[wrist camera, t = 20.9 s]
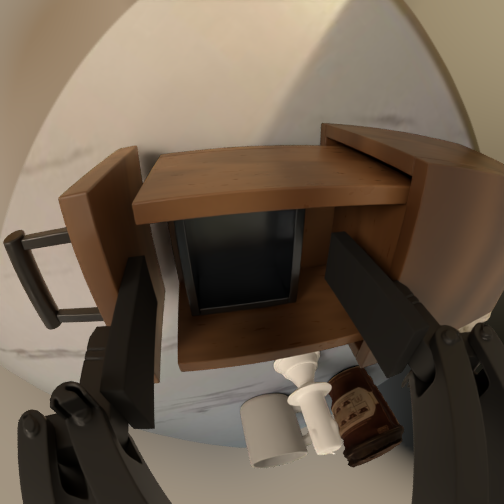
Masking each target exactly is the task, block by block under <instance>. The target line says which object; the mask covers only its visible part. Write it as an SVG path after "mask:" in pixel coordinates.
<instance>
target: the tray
mask: <svg viewBox="0 0 504 504" xmlns="http://www.w3.org/2000/svg"><path fill="white" fill-rule="evenodd" d="M305 210H306V208H305V209H290V210H277V211H264V212H253V213H242V214H231V215H221V216H211V217H201V218H192V219H183V220H175V221H173V223H174V229H175V235H176V241H177V246H178V252H179V257H180V263H181V268H182V273H183V278H184V283H185V287H186V292H187V297H188V301H189V306H190V310H191V315H192V316H199V315H200V314H201V315H209V314H217V313H225V312H233V311H241V310H249V309H256V308H263V307H270V306H276V305H283V304H288V303H295V302H296V301H297V293H298V284H299V275H300V266H301V256H302V246H303V235H304V223H305Z"/></svg>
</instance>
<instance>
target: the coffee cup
mask: <svg viewBox="0 0 504 504" xmlns="http://www.w3.org/2000/svg"><path fill="white" fill-rule="evenodd" d="M328 383H329V384H330V385H331V386H332V388H331V391H330V392H329V393H328V394H329V395H330V396H331V398H332V406H331V410H332V412H333V415H334V418H335V421H336V422H337V424H338V429H339V434H340V437H341V438H342V439H343V440H344V446H345V450H344V452H343V454H344V457H345V458H347V459H348V461H349V463H348V465H349V466H351V467H355V466H358V465H361V464H364V463H366V462H369V461H371V460H373V459H375V458H377V457H379V456H381V455H383V454H385V453H387V452H388V451H390V450H391V449H393V448H394V447H396V446H397V445H399V444H400V442H402V434H403V432H404V428H403V426H401V425H400V424H399V423H398V421H397V419H396V418H395V416H394V414H393V412H392V411H391V409H390V408H389V406H388V404H387V402H386V401H385V400H384V398H383V396H382V394H381V393H380V392H379V390H378V388H377V386H376V385H374V383H373V380H372V378H371V377H370V376H369V375H368V373H367V371H366V370H365V369H364V368H360V366H356V367H353V368H350V369H347V370H345V371H343V372H341V373H339V374H338V375H336V376H335V377H333V378H332V379H331V380H330V381H329V382H328Z"/></svg>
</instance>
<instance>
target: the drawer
mask: <svg viewBox="0 0 504 504" xmlns="http://www.w3.org/2000/svg"><path fill="white" fill-rule="evenodd" d="M411 181H412V179H410V178H408V177H406V176H405V175H403V174H401V173H399V172H397V171H395V170H393V169H391V168H389V167H387V166H385V165H384V164H382V163H379V162H377V161H375V160H373V159H371V158H369V157H367V156H365V155H363V154H361V153H359V152H356V151H354V150H352V149H350V148H347V147H344V146H317V145H275V146H247V147H230V148H217V149H205V150H195V151H186V152H177V153H169V154H162V155H160V157H159V158H158V160H157V162H156V163H155V165H154V166H153V168H152V170H151V171H150V173H149V175H148V176H147V178H146V180H145V181H144V183H143V182H142V176H141V169H140V162H139V155H138V147H137V146H131V147H126V148H120V149H118V150H117V151H115V152H114V153H112V154H111V155H110V156H108V157H107V158H106V159H104V160H103V161H102V162H100V163H99V164H98V165H97V166H95V167H94V168H93V169H92V170H90V171H89V172H88V173H87V174H85V175H84V176H83V177H82V178H80V179H79V180H78V181H77V182H76V183H75V184H73V185H72V186H71V187H70V188H69V189H68V190H67V191H65V192H64V193H63V194H62V195H61V196H60V197H59V198H58V200H59V204H60V208H61V211H62V215H63V218H64V221H65V225H66V227H65V228H60V229H54V230H49V231H44V232H39V233H34V234H29V235H26V236H25V233H24V231H23V230H18V231H15V232H13V233H11V234H10V235H8V236H7V237H6V238H5V240H4V246H5V249H6V251H7V253H8V256H9V258H10V260H11V263H12V265H13V267H14V269H15V271H16V273H17V276H18V278H19V280H20V282H21V284H22V286H23V288H24V290H25V292H26V293H27V295H28V297H29V299H30V301H31V303H32V304H33V306H34V308H35V310H36V311H37V313H38V315H39V316H40V318H41V320H42V321H43V323H44V325H45V326H46V328H48V329H55V328H57V327H59V326H60V325H61V323H62V322H91V321H104V322H105V324H106V326H111V322H112V318H113V313H114V309H115V305H116V301H117V297H118V293H119V289H120V285H121V281H122V278H123V274H124V271H125V267H126V264H127V260H128V257H135V256H142V255H145V259H146V263H147V267H148V270H149V274H150V278H151V281H152V285H153V288H154V291H155V295H156V298H157V301H158V305H157V318H156V334H155V357H154V383H159V382H160V359H161V340H162V324H163V312H164V300H165V287H164V283H163V279H162V275H161V271H160V267H159V263H158V259H157V254H156V250H155V246H154V241H153V236H152V232H151V227H150V223H158V222H166V221H168V227H169V232H170V238H171V243H172V249H173V254H174V259H175V264H176V269H177V274H178V279H179V303H178V365H179V368H180V370H181V372H186V371H197V370H207V369H217V368H225V367H233V366H240V365H247V364H254V363H260V362H266V361H272V360H277V359H283V358H288V357H293V356H298V355H303V354H308V353H312V352H317V351H321V350H326V349H330V348H334V347H338V346H342V345H346V344H350V343H353V342H357V341H361V340H364V339H363V338H362V336H361V334H360V333H359V331H358V330H357V328H356V326H355V325H354V323H353V322H352V320H351V319H350V317H349V315H348V314H347V312H346V311H345V309H344V308H343V306H342V305H341V303H340V301H339V300H338V298H337V297H336V295H335V294H334V292H333V291H332V289H331V288H330V286H329V285H328V283H327V282H326V280H325V279H324V277H325V271H326V265H327V259H328V253H329V246H330V240H331V233H333V232H342V231H345V232H346V233H347V234H348V235H349V236H350V237H351V238H352V239H353V240H354V241H355V242H356V243H357V244H358V245H359V246H360V247H361V248H362V249H363V250H364V251H365V252H366V253H367V254H368V255H369V256H370V257H371V258H372V260H373V261H374V262H375V263H376V264H377V265H378V266H379V267H380V268H381V269H382V270H383V271H384V273H385V274H386V275H387V276H388V273H389V270H390V266H391V263H392V260H393V256H394V253H395V249H396V246H397V242H398V239H399V235H400V231H401V227H402V223H403V219H404V214H405V210H406V206H407V201H408V196H409V191H410V186H411ZM305 208H306V210H305V223H304V235H303V246H302V256H301V266H300V275H299V284H298V293H297V301H296V302H295V303H288V304H283V305H276V306H270V307H263V308H256V309H249V310H241V311H233V312H225V313H217V314H209V315H201V314H200V315H199V316H192V315H191V310H190V306H189V301H188V297H187V292H186V287H185V283H184V278H183V273H182V268H181V263H180V257H179V252H178V246H177V241H176V235H175V229H174V223H173V221H175V220H183V219H192V218H201V217H211V216H221V215H231V214H242V213H253V212H264V211H277V210H290V209H305ZM66 243H72V246H73V249H74V252H75V254H76V257H77V260H78V262H79V265H80V268H81V270H82V273H83V275H84V278H85V280H86V282H87V285H88V287H89V289H90V292H91V294H92V296H93V298H94V301H95V303H96V305H97V307H92V308H74V309H58V307H57V305H56V303H55V301H54V299H53V297H52V295H51V293H50V291H49V289H48V287H47V285H46V283H45V281H44V279H43V277H42V275H41V272H40V270H39V268H38V266H37V263H36V261H35V259H34V256H33V254H32V251H31V249H35V248H41V247H47V246H53V245H59V244H66Z"/></svg>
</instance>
